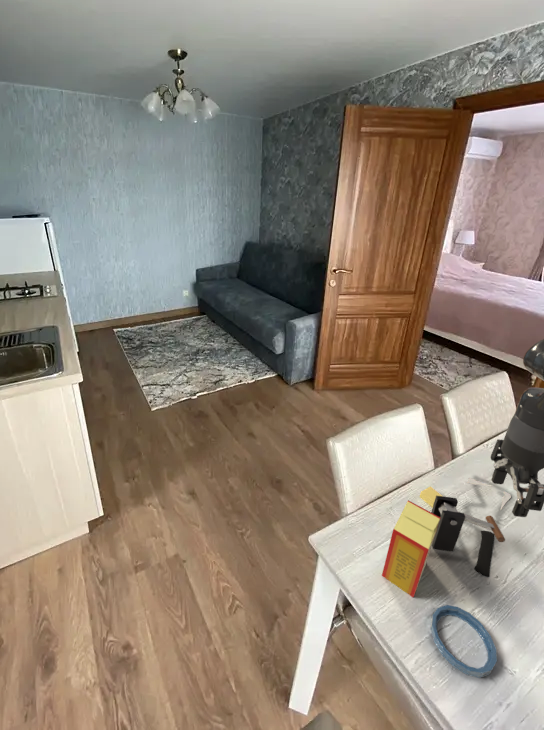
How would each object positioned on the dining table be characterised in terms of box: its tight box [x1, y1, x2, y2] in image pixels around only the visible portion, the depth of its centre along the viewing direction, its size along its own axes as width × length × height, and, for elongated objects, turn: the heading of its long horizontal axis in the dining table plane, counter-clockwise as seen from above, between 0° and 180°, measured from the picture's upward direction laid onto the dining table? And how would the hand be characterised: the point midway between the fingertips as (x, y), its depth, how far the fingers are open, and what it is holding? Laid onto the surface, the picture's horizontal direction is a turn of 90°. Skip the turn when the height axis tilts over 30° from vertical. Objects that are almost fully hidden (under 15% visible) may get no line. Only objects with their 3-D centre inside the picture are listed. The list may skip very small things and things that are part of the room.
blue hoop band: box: [429, 604, 498, 679], centre depth 64 cm, size 10×10×3 cm
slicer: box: [430, 495, 465, 553], centre depth 81 cm, size 10×8×13 cm
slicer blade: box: [439, 502, 506, 543], centre depth 79 cm, size 13×6×2 cm, turn 80°
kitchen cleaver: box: [466, 477, 512, 578], centre depth 88 cm, size 31×2×10 cm
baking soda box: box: [381, 500, 440, 598], centre depth 74 cm, size 10×6×16 cm
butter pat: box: [419, 485, 443, 509], centre depth 93 cm, size 4×4×3 cm
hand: (506, 498), depth 75 cm, fingers open, 8 cm apart
